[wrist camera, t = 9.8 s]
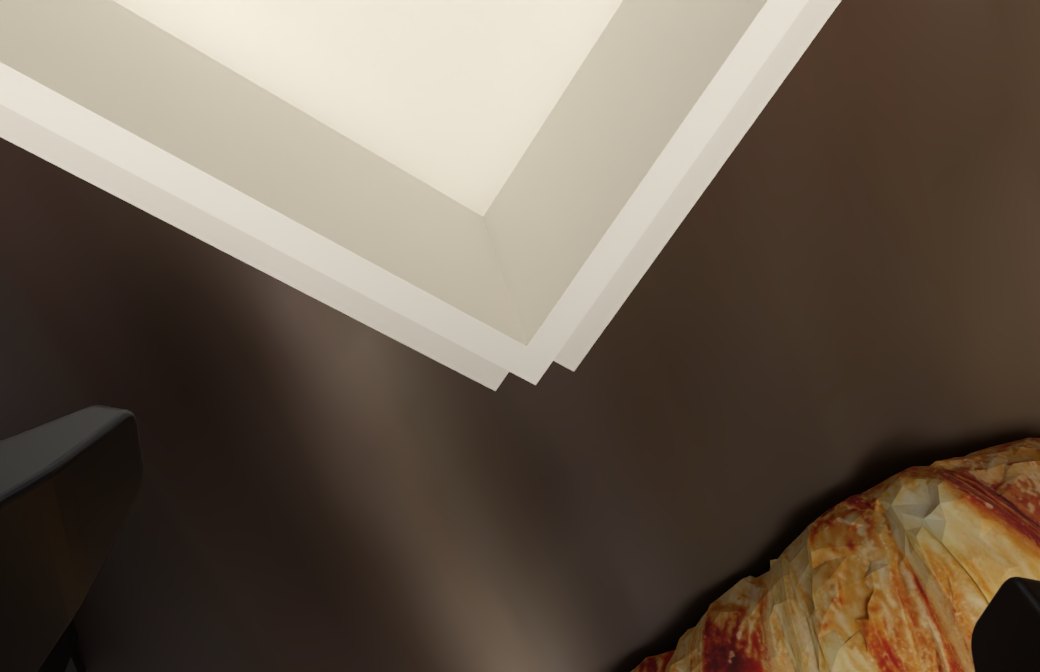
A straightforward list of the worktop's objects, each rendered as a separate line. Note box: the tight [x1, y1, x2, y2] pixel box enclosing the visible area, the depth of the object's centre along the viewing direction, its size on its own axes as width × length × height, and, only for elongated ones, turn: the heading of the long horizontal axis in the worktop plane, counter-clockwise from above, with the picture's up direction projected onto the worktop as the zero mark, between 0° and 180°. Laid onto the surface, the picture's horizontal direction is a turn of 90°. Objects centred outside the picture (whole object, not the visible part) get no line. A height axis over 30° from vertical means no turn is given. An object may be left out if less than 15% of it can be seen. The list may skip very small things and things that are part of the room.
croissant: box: [631, 438, 1040, 672], centre depth 25 cm, size 21×10×8 cm, turn 112°
